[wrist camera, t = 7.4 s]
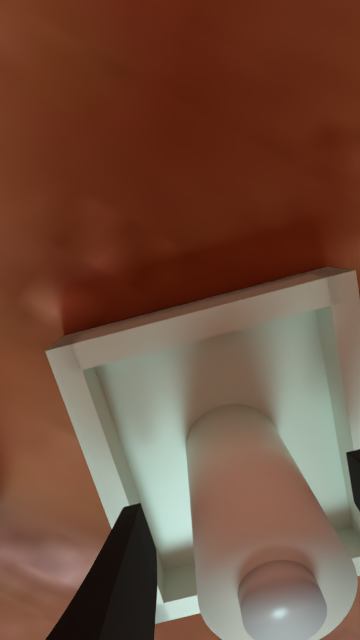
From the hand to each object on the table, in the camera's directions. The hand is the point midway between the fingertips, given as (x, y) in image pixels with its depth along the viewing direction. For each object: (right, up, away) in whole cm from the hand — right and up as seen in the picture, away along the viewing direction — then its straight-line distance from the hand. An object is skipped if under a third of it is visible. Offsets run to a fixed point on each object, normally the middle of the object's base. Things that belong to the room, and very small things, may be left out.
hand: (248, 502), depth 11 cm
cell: (0, +1, +3) cm, 3 cm away
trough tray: (0, +1, +4) cm, 4 cm away
